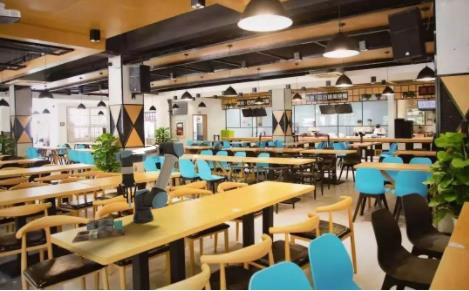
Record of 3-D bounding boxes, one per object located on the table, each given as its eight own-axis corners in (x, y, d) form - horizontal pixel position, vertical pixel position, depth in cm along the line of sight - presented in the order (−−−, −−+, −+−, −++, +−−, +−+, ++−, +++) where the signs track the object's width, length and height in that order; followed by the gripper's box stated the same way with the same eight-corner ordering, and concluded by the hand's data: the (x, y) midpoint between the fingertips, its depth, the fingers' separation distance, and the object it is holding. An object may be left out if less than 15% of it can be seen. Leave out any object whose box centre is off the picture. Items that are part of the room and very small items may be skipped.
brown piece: (124, 230, 244) (123, 217, 244) (124, 235, 233) (123, 221, 232) (78, 235, 236) (77, 222, 236) (76, 241, 225) (74, 227, 224)
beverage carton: (86, 232, 246) (85, 222, 246) (106, 224, 263) (106, 215, 263) (94, 232, 243) (93, 223, 242) (115, 225, 260) (114, 216, 260)
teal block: (122, 227, 240) (122, 220, 240) (122, 229, 235) (121, 221, 235) (114, 228, 239) (114, 220, 239) (114, 230, 234) (113, 222, 234)
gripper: (137, 171, 243) (140, 205, 244) (117, 173, 239) (120, 208, 240) (138, 172, 236) (140, 208, 237) (117, 174, 232) (119, 210, 233)
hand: (130, 208), depth 239 cm, fingers closed
